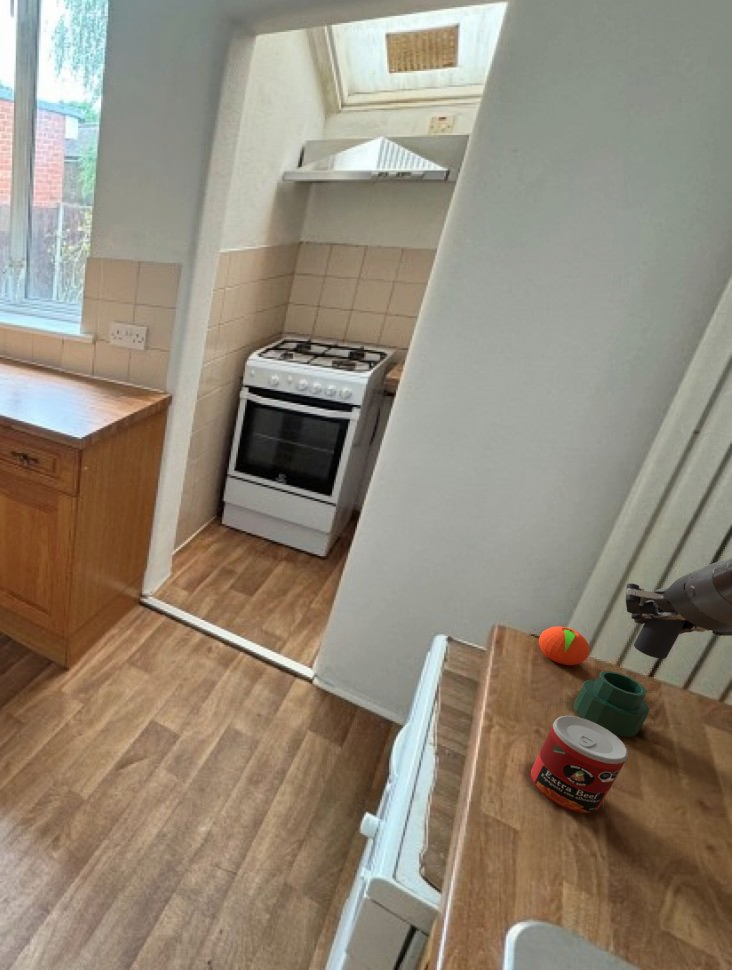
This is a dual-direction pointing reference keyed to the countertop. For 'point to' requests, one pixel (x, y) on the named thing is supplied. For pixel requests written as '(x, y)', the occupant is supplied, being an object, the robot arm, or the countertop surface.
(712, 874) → the countertop surface
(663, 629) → the plug
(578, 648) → the clementine
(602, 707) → the green pipe coupling
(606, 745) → the canned food
